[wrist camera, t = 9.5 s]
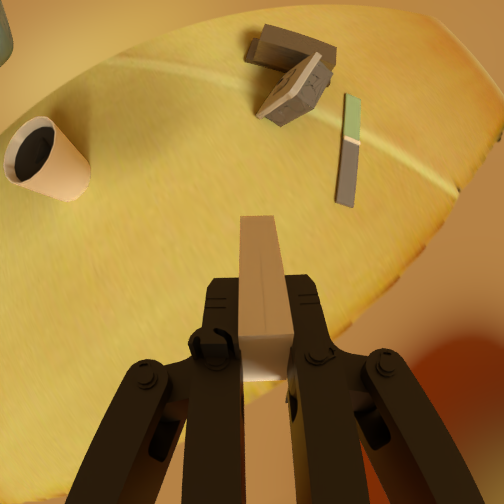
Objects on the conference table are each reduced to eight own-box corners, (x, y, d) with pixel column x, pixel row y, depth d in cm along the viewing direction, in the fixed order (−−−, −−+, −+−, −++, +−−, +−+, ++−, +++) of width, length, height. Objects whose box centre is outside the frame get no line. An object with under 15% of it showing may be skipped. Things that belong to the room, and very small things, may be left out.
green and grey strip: (335, 202, 31) (337, 201, 31) (345, 94, 33) (347, 92, 32) (351, 207, 32) (354, 206, 31) (359, 100, 33) (361, 98, 32)
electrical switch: (281, 77, 31) (306, 42, 23) (309, 95, 32) (340, 64, 24) (252, 118, 30) (275, 83, 22) (285, 138, 31) (315, 109, 23)
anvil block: (245, 62, 30) (251, 38, 25) (252, 41, 31) (259, 18, 26) (327, 87, 32) (342, 68, 27) (329, 65, 33) (343, 46, 28)
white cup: (78, 142, 26) (41, 104, 16) (104, 176, 27) (67, 142, 17) (41, 180, 25) (-4, 155, 16) (65, 217, 26) (17, 200, 16)
